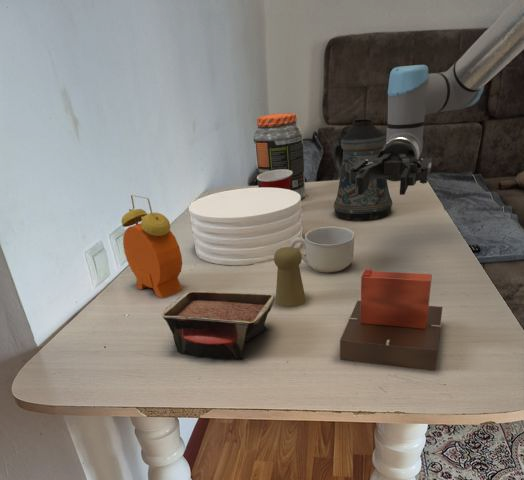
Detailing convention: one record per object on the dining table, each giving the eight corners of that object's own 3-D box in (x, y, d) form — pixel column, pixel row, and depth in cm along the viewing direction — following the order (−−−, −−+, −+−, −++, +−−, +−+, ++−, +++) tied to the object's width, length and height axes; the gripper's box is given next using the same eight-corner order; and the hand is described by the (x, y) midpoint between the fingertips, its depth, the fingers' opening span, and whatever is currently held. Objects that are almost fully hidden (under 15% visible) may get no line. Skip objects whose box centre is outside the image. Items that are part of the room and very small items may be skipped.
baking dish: (206, 326, 93) (189, 280, 88) (291, 324, 86) (277, 273, 80) (168, 371, 83) (146, 322, 78) (261, 373, 75) (243, 318, 70)
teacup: (355, 259, 111) (356, 225, 107) (352, 278, 102) (352, 242, 98) (296, 259, 114) (294, 226, 110) (288, 278, 106) (285, 242, 101)
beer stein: (379, 225, 131) (383, 124, 118) (315, 220, 140) (312, 126, 127) (399, 209, 143) (405, 115, 130) (338, 204, 152) (338, 117, 139)
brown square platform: (440, 327, 82) (443, 305, 79) (435, 374, 70) (438, 349, 68) (356, 320, 86) (356, 299, 84) (339, 362, 75) (339, 339, 73)
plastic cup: (252, 215, 150) (248, 175, 144) (277, 206, 156) (274, 168, 150) (277, 220, 143) (273, 178, 137) (302, 211, 149) (300, 171, 143)
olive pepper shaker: (278, 296, 98) (274, 243, 92) (307, 296, 97) (305, 243, 91) (272, 309, 93) (268, 255, 87) (303, 309, 92) (301, 254, 86)
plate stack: (175, 260, 121) (166, 214, 116) (228, 226, 143) (223, 186, 137) (276, 269, 110) (272, 220, 104) (318, 231, 131) (316, 188, 125)
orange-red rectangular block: (427, 321, 76) (432, 272, 71) (426, 329, 74) (431, 279, 69) (363, 316, 79) (364, 268, 75) (360, 323, 77) (361, 275, 73)
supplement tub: (308, 192, 169) (305, 110, 156) (301, 204, 156) (297, 116, 143) (264, 193, 173) (258, 114, 160) (254, 205, 160) (246, 120, 147)
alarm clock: (189, 290, 104) (172, 196, 94) (165, 300, 101) (145, 204, 91) (154, 277, 113) (135, 189, 103) (131, 286, 109) (110, 196, 99)
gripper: (446, 177, 96) (440, 210, 77) (350, 178, 102) (324, 208, 84) (451, 136, 92) (445, 160, 73) (351, 140, 98) (323, 163, 80)
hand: (381, 186), depth 79 cm, fingers open, 6 cm apart
